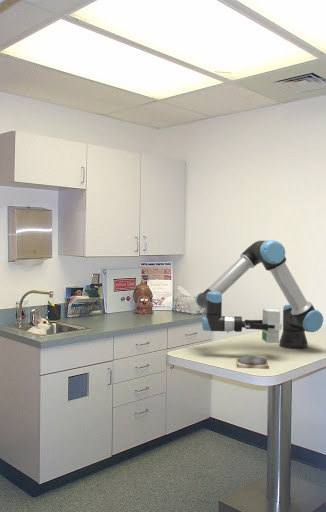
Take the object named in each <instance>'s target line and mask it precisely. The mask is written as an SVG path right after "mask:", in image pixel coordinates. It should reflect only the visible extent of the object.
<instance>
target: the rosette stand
mask: <svg viewBox="0 0 326 512" xmlns="http://www.w3.org/2000/svg"><path fill="white" fill-rule="evenodd" d="M235 362H236V368H238V369H239V368H243V369H264V370H266V369H267V370H269V369H270V365H269V362H268V360H267V359H266V358H264V357H261V356H253V355H251V356H250V355H247V356H246V355H244V356H243V355H242V356H239V357H236V361H235Z"/></svg>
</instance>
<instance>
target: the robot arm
mask: <svg viewBox="0 0 326 512" xmlns="http://www.w3.org/2000/svg"><path fill="white" fill-rule="evenodd" d="M286 262H287V257H286V249H285V247H284V245H283V244H282V243H281V242H279V241H276V240H273V239H267V240H257V241H255V242H253V243H252V244H251V245H249V246H248V247H247V248H246V249H245V250H244V251H243V252H242V253H241V254H240V255H239V258H238V259H237V260H236V261H235V262H234V263H232V265H231V266H230V267H229V268H228V269H227V270H226V271H225V272H224V273H223V274H222V275H220V276H219V277H218V278H217V279H216V280H215V281H213V283H212V284H211V285H210V286H208V288H206V289H205V290H203V292H200V293H198V294H197V295H196V297H195V303H196V306H197V305H198V306H199V307H200V308H203V309H205V310H206V315H203V316H202V318H201V321H202V322H201V325H202V330H203V331H205V332H206V331H208V332H226V333H229V332H235V333H242V331H243V329H244V328H245V330H260V331H262V330H266V331H268V329H274V330H279V331H280V330H282V333H281V336H280V337H279V346H280V347H283V348H285V349H286V348H287V349H307V348H308V347H309V346H308V345H309V342H308V339H307V335H306V332H308V333H316V332H318V331H319V330H320V329H321V328H322V326H323V323H324V316H323V314H322V312H320V311H319V310H318V309H315V307H314V305H313V303H312V302H311V301H308V300H307V299H306V297H305V296H304V294H303V292H302V290H301V289H300V287H299V285H298V283H297V282H296V279H295V278H294V277H293V275H292V273H291V271H290V269H289V268H288V266H287V264H286ZM259 264H262V265H263V267H264V269H265V271H267V272H270V273H271V275H272V276H273V279H274V280H275V282H276V283H277V285H278V287H279V289H280V291H281V292H282V293H283V295H284V298H285V299H286V301H287V302H288V304H285V305H284V306H283V308H282V323H280V324H269V323H268V324H262V322H263V319H245V320H243V317H242V316H236V315H235V316H232V315H225V316H224V315H223V313H222V312H223V311H222V309H223V308H222V307H223V306H222V305H223V302H222V301H223V294H224V293H226V291H228V289H230V288H231V287H232V286H233V285H234V284H235V283H236V282H237V281H238V280H239V279H240V278H241V277H243V275H244V274H245V273H246V272H248V271H249V270H250V269H253V268H255V267H256V266H257V265H259Z"/></svg>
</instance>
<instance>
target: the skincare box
mask: <svg viewBox="0 0 326 512" xmlns="http://www.w3.org/2000/svg"><path fill="white" fill-rule="evenodd" d="M262 320H263V322H262V324H268V323H269V324H281V311H280V310H279V309H276V308H262ZM261 336H262V337H261V340H262V341H263V342H265V343H266V344H278V343H279V342H280V330H274V329H268V331H266V330H261Z"/></svg>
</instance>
